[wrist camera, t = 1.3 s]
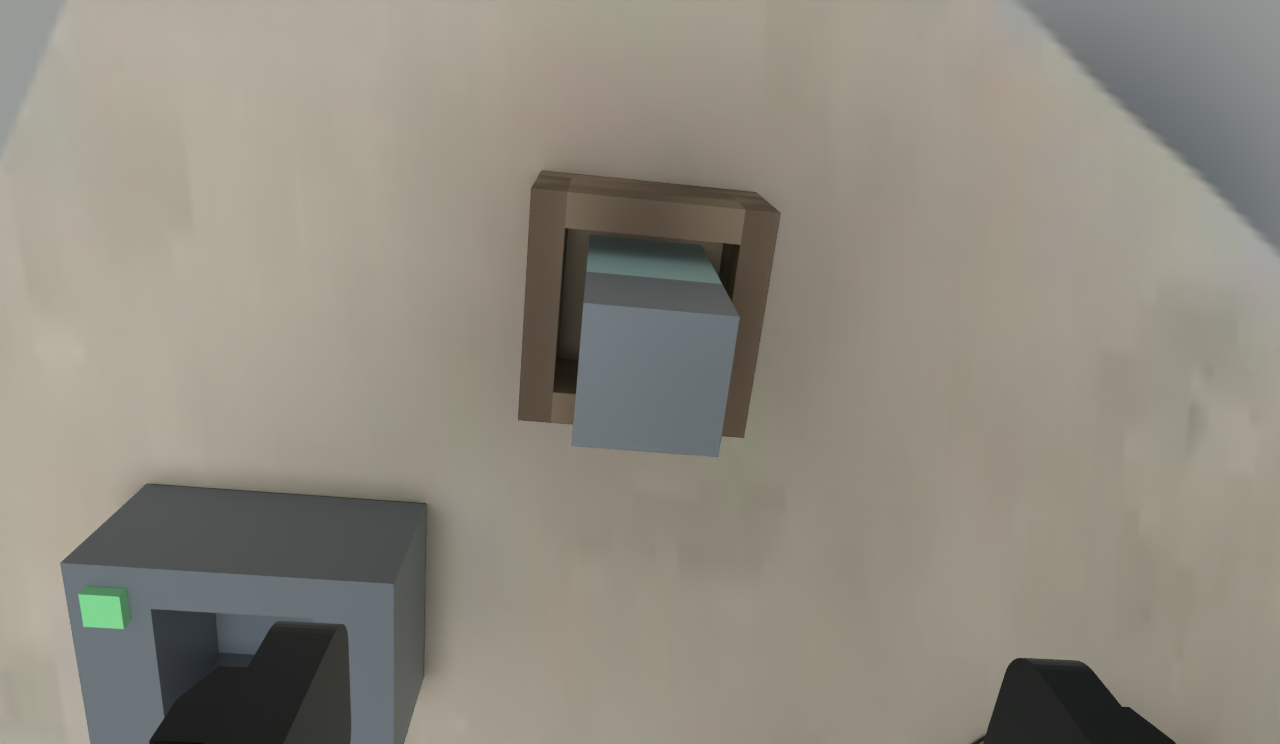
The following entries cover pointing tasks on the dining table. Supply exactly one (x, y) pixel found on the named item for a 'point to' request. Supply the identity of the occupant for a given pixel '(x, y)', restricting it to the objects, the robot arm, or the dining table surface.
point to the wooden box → (586, 205)
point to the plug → (653, 349)
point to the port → (244, 599)
